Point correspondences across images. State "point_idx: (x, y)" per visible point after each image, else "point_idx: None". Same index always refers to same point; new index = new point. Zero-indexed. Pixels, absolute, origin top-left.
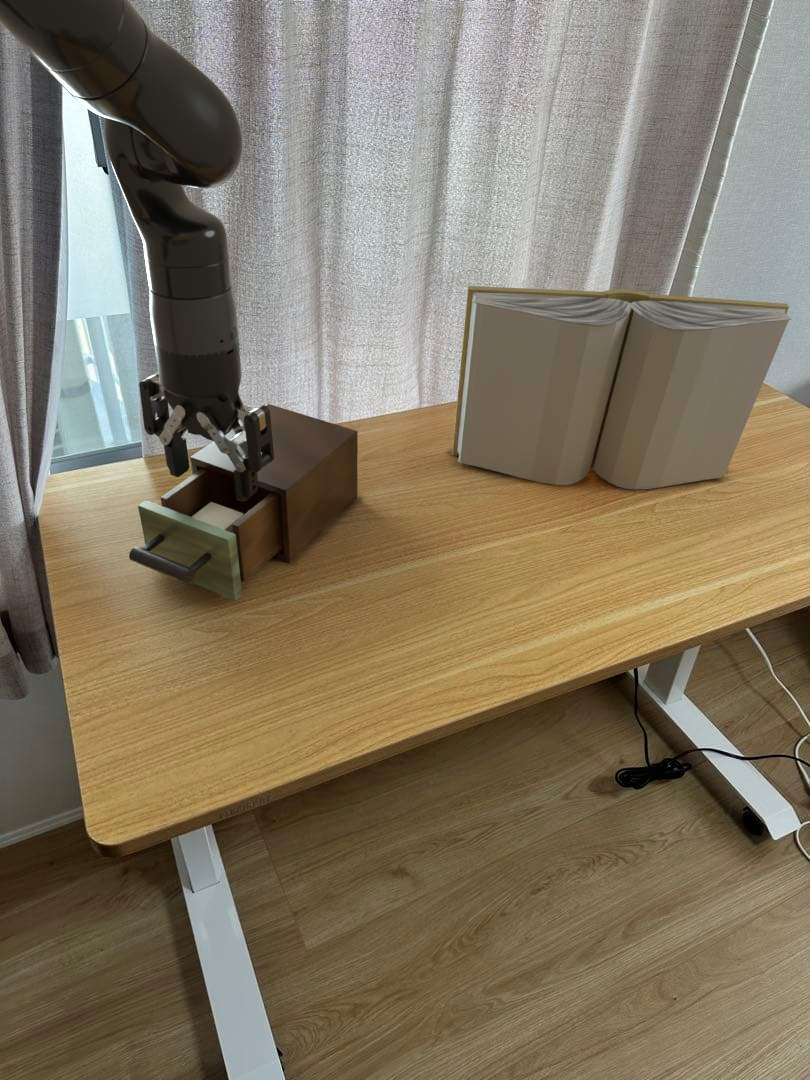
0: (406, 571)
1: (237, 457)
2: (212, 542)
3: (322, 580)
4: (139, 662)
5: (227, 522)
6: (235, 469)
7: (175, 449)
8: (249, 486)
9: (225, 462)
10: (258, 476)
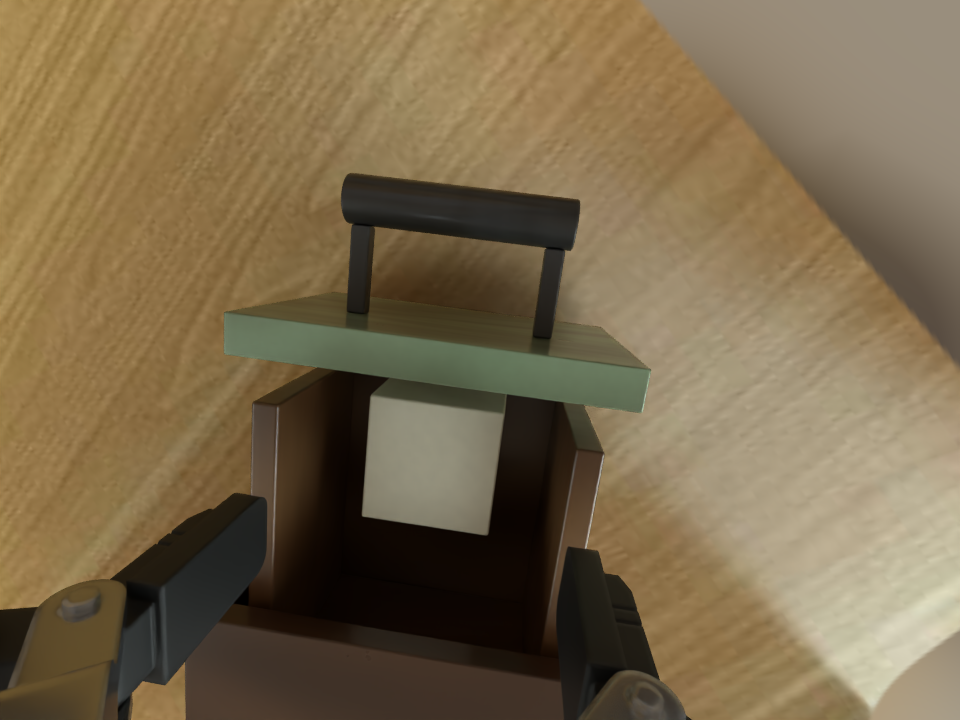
0: (97, 530)
1: (32, 651)
2: (311, 315)
3: (227, 444)
4: (434, 28)
5: (380, 460)
6: (156, 594)
7: (578, 665)
8: (159, 543)
9: (472, 699)
10: (313, 658)
